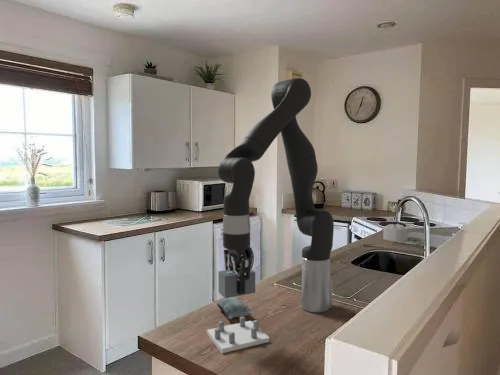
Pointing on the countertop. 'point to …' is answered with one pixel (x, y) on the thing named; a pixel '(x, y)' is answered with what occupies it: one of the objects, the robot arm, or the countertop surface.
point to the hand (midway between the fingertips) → (236, 290)
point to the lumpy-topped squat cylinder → (395, 232)
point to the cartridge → (234, 283)
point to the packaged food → (234, 307)
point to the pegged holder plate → (237, 335)
